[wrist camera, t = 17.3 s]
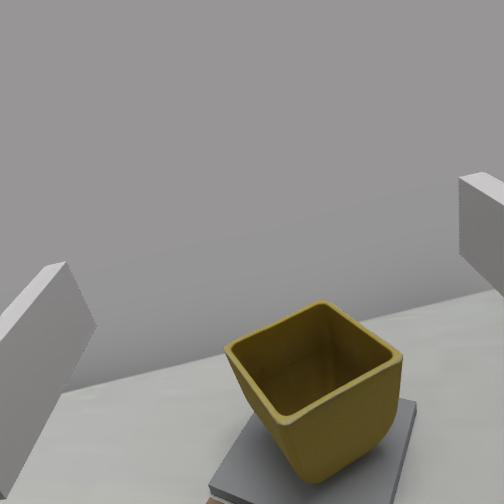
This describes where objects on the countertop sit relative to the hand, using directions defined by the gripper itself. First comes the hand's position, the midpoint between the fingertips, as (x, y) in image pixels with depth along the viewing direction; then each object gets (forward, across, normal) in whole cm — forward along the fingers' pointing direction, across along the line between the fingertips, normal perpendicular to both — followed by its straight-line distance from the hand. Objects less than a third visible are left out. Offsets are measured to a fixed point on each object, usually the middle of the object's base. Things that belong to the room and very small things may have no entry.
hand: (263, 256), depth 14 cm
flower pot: (+9, 0, -21) cm, 23 cm away
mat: (+10, 0, -22) cm, 24 cm away
